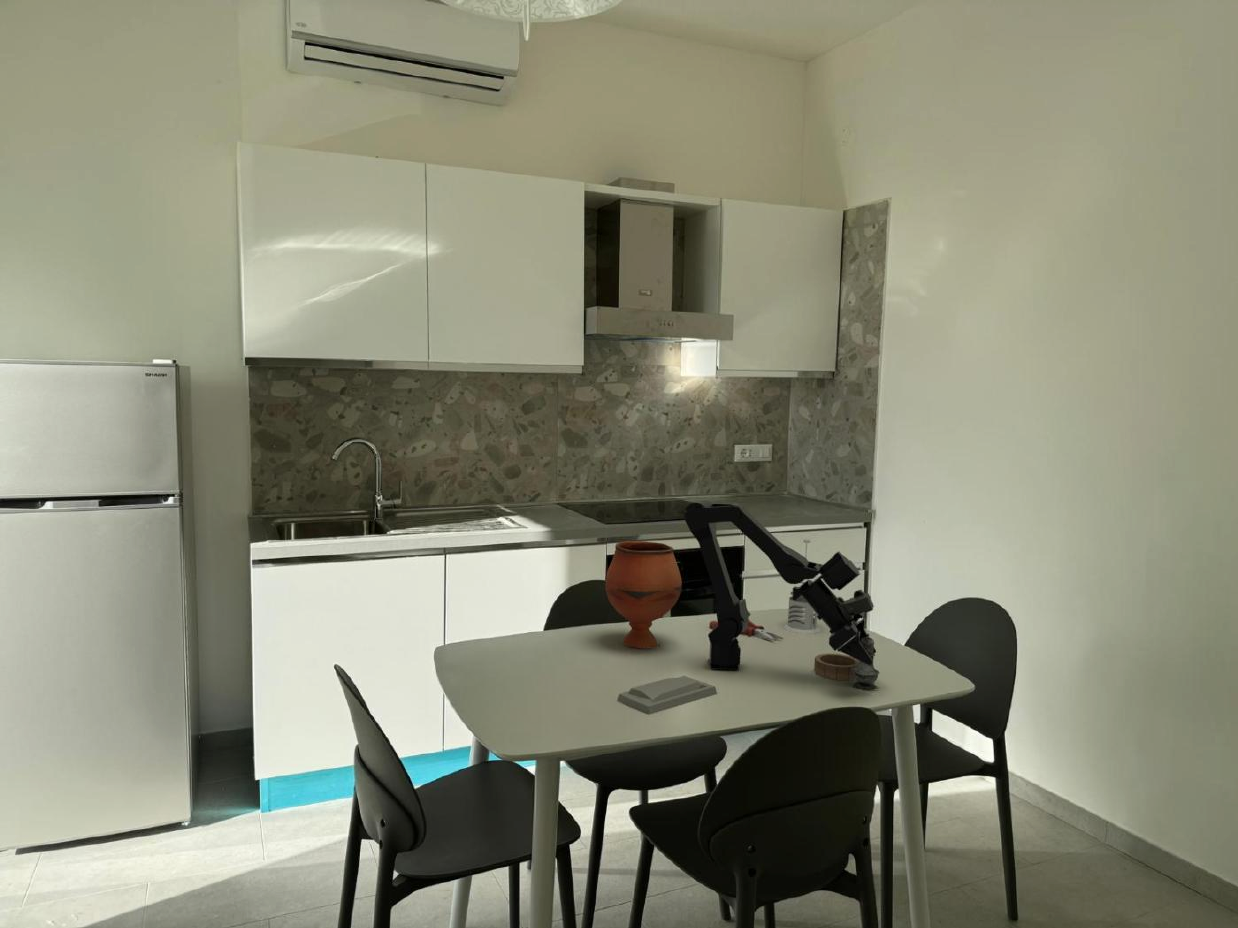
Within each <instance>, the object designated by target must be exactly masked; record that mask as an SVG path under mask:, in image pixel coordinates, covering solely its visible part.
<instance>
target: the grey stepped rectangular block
mask: <svg viewBox="0 0 1238 928" xmlns="http://www.w3.org/2000/svg"><path fill="white" fill-rule="evenodd" d="M715 695H718V691H717V688H716V685H712V684H709V683H707V682H704V681H701V680H699V679H698V680H697V679H695V678H692V677H688V676H686V675H682V676H678V677H668V678H667V677H666V678H663V679H659V680H656V681H652V682H649V683H646V684H641V685H639V686H634V687H631V688H630V689H629V690H628V691H624V692H620V693H619V694H618V696H617V701H618V702H619V703H622V704H624V705H627V706H629V707H631V708H634V709H636V710H638V711H640V712H643V713H645V714H648V715H653V714H657V713H660V712H662V711H666V710H669V709H672V708H676V707H679V706H683V705H686V704H688V703H692V702H696V701H699V700H701V699H706V698H708V697H712V696H715Z"/></svg>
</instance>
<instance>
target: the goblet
mask: <svg viewBox="0 0 1238 928" xmlns="http://www.w3.org/2000/svg"><path fill="white" fill-rule="evenodd" d="M682 582H683V581H682V576H681V572H680V568H679V566H678V564H677V560H676V557H675V555H674V548H673V546H669V545H667V544H666V543H662V542H654V541H653V542H652V541H646V540H645V541H644V540H625V541H619V542H617V543H616V544H615V550H614V554H613V557H612V560H611V562H610V565H609V567H608V568H607V571H606V577H605V592H606V595H607V599H608V601H609V602H610V604H611V606H612V608H614V609H615V611H616V612H618V614H619V615H620V616H621V617H623V618H625V620H628V625H629V627H630V628H631V630H630V631H629V632H628V633H627V634H626V635H625V636H624V638H623V640H622V644H623V643H624V644H623V645H625V646H627V647H629V648H633V647H634V648H633V649H635V648H636V649H652V648H654V646H655V647H657V646H658V642H657V639H656V637H655V635H654V634H653V633H652V632H651V630H650V628H651V627H652V626H653V622H654V621H657V620H659V619H660V618H662V617H663V616H665V615H666V614H667V613H668V612H670V611H671V610H672V609H673V607H674V606H675V605H676V603H677V602H678V600H679V598H680V595H681V592H682V589H683V588H682V587H683V586H682V584H683V583H682ZM656 645H657V646H656Z"/></svg>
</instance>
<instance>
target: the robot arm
mask: <svg viewBox="0 0 1238 928" xmlns="http://www.w3.org/2000/svg"><path fill="white" fill-rule="evenodd" d="M683 518H684V521H685V524H686V525H687V527H688V529H689V532H690V533H691V534H692V535H693V537H694V538H695V539H696V541H697V542H698V546H699V548H700V551H701V554H702V558H703V560H704V565H705V568H706V571H707V573H708V577H709V580H710V583H711V586H712V590H713V593H714V596H715V600H716V617H717V619H716V620H717V621H716V622H718V625H717V626H716V627H715V628H714V629H711V631H710V632H709V633H708V634H707V636H708V639H709V658H708V659H707V663H708V665H709V668H710V669H711V670H722V671H729V670H730V671H739V669H740V667H739V666H741V649H742V648H741V646H740V644H739V642H740V641H739V639H738V637H739V636H740V635H741V633H742V632H743V631H744V630H745V628H746V627H747V625H748V623H749V621H750V618H749V617H750V616H751V612H750V611H749V610H748V606H747V601H746V599H745V598H743V599H741V600H740V599H739V598H738V597H737V596H736V594H735V591H734V588H733V585H732V582H731V578H730V575H729V572H728V569H727V565H726V563H725V559H724V557H723V552H722V550H721V546H720V543H719V540H718V537H717V523H726V522H728V523H729V522H731V523H732V524H733V525H734V526H735V527H736V528H737V529H738V530H739V531H740V532H741V533H742V534H744V535H745V537H746V538H748V540H750V542H752V543H753V544H754V545H755V546H756V547H757V548H759V550H761V551H762V552H763V553H764V554H765V556H767V557H768V559H769V560H770V562H771V563H772V566H773V567H774V569H775V570H776V571H777V573H778V574H779V576H780V577H781V578H782V579H783V581H784V582H785V583H787V584H789V585H794V586H793V587H792V591H793V598H792V599H793V600H794V601H795V600H796V599H797V598H799V597H800V596H802V597H803V598H804V599H805V600H806V601H807V603H808V604H809V605H810V606H811V607H812V608H813V610H814V611H813V612H814V613H815V612H816V613H817V620H819V621H823V622H824V624H826V626H827V627H828V628H829V633H830V636H829V637H828V646H830V647H831V648H832V650H833V651H834V652H835V651H837V652H840V653H843V654H844V655H847V656H851V657H853V658H855V659H857V660H859V661H861V662H863V663H866V664H868V665H871V664H872V663H873V664H874V660H873V661H872V659H871V658H870V656H869V654H868V653H867V651H866V650H865V648H864V647H863V645H862V644H861V639H862V638H864V637H867V634H868V633H867V631H866V629H865V628H866V627H865V625H866V618H865V614H864V613H869V612H872V611H873V610H874V608H875V606H874V604H873V601H872V596H871V595H870V593H868V592H864V591H863V590H862V589H859V590H855V591H854V592H853V597H850V598H849V599H847V600H844V598H843V597H842V596H837V595H836V594H834V592H833V591H835V590H838V591H841V590H843V589H844V588H845V587H847V586H848V585H849V584H850V583H851V582H852V581H853V580H855V579H856V578H857V577H859V576H860V575H861V573H860V570H859V569H858V568H857V566H856V565H855V564H854V563H853V561H852V560H850V559H849V558H847V557H846V556H845V555H843V554H842V553H841V552H840V551H836V552H835V553H834V554H833V556H831V558H829V559H828V560H827V561H826V562H824V563H823V564H822V563H818V562H813V561H809V560H808V559H807V557H806V558H805V556H804V555H802V554H800V553H799V552H798V551H796V550H794V549H793V548H791V547H790V546H787V545H785V544H783V543H782V542H781V541H779V540H778V538H776V536H774V535H773V534H772V533H771V532H770V531H769V530H768V529H767V528H766V527H765V526H763V525H762V524H761V523H760V522H759V521H758V520H757V519H756V518H755V517H754V516H753V515H752V514H751V513H750V512H749V511H747V509H746V508H745V506H744V505H742V504H741V503H738V502H735V503H712V502H710V501H708V500H706V499H699V500H696V501H694V502H691V503H689V504H688V505H687V506H686V507H685V509H684V511H683ZM818 575H820V576H818ZM817 576H818V577H817ZM815 577H817V579H816V580H814V581H813V582H812V581H811V580H807V581H806V582H805V583H804V584H802V583H801V582H802V581H803V580H805V579H813V578H815ZM799 584H801V585H800V586H795V585H799ZM832 590H833V591H832ZM873 653H874V654H876V653H877V650H876V648H875V647H874V652H873Z"/></svg>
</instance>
